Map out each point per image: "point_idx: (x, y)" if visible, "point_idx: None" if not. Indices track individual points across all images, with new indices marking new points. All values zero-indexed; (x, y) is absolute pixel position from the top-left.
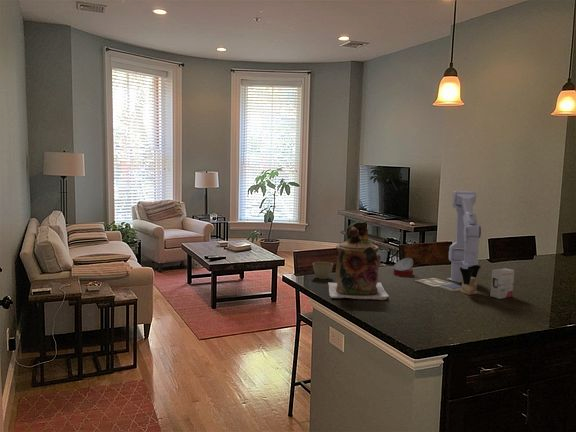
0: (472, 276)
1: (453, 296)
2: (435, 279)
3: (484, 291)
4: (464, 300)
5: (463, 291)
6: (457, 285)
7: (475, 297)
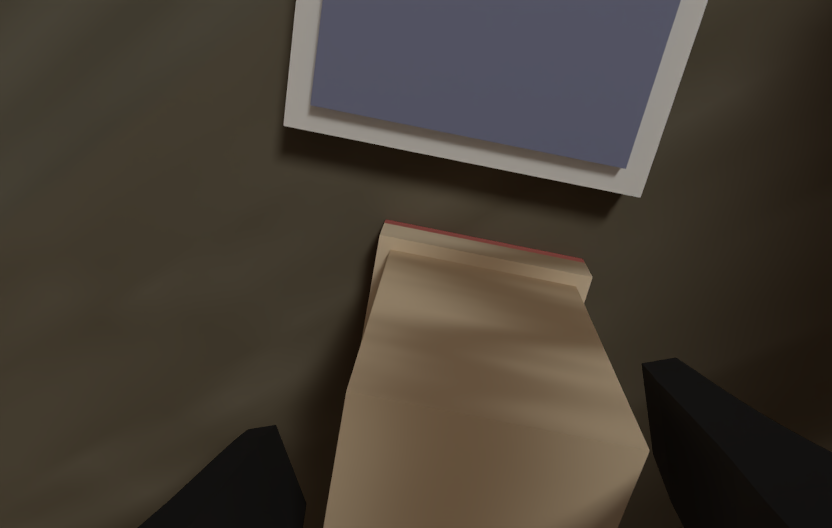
0: (696, 496)
1: (53, 305)
2: None
3: None
4: (44, 487)
5: (370, 292)
6: (630, 5)
7: None
